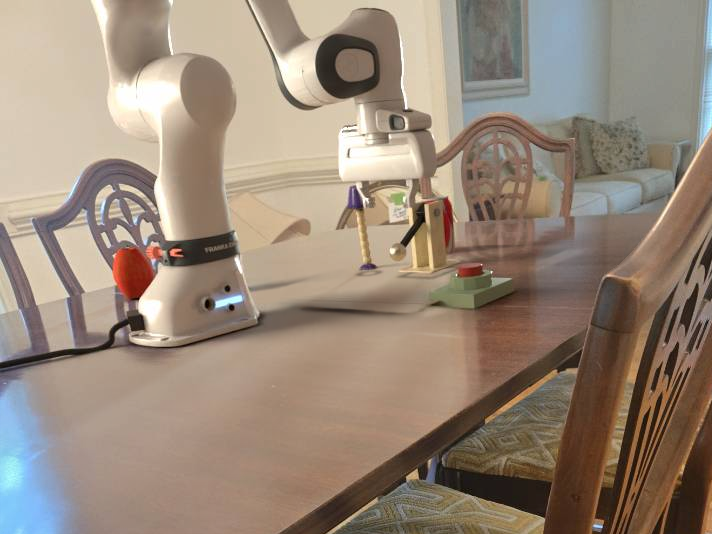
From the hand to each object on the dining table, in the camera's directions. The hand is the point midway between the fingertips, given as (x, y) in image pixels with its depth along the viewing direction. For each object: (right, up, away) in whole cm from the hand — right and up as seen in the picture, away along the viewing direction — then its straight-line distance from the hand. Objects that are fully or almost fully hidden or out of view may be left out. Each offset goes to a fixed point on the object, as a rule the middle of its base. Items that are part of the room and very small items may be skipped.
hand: (389, 207), depth 140 cm
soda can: (+10, +1, +27) cm, 29 cm away
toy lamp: (-5, -5, +19) cm, 21 cm away
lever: (+5, -3, +7) cm, 9 cm away
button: (+14, -17, -13) cm, 25 cm away
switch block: (+14, -20, -11) cm, 27 cm away
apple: (-53, -10, +22) cm, 58 cm away
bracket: (+8, -7, +13) cm, 17 cm away
